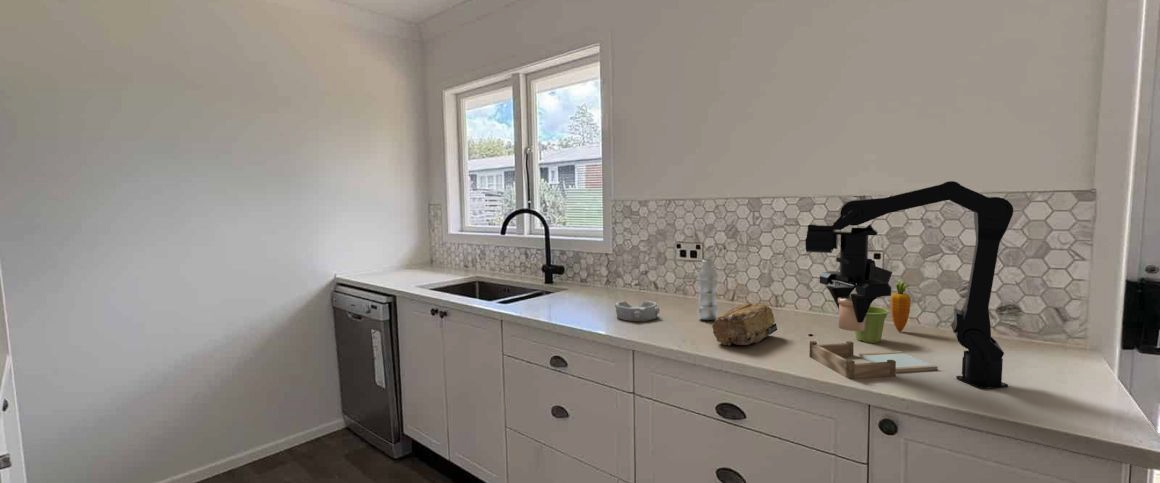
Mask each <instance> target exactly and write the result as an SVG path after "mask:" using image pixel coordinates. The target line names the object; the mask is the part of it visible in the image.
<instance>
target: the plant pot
mask: <svg viewBox="0 0 1160 483" xmlns="http://www.w3.org/2000/svg"><path fill="white" fill-rule="evenodd" d="M889 312H890V311H889V310H888V309H886V308H884V307H879V306H873V305H872V306H871V305H870V307H869V309H868V311H867V314H866V322H865V330H863V331H854V335H855V339H856V340H857V341H863V342H864V343H871V344H875V343H876V344H877V343H879V342H881V341H882V336H883V332H884V331H883V330H884V326H885V320H886V318H887V316H888V314H889Z"/></svg>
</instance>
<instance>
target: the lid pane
mask: <svg viewBox="0 0 1160 483" xmlns="http://www.w3.org/2000/svg"><path fill="white" fill-rule="evenodd" d="M858 356H859V358H861V359H864V360H865V361H867V362H869V363H875V362H887V360H894V361H896V373H908V372H923V371H925V372H926V371H938V369H939V368H938V366H937V365H935V364H930V363H928V362H926V361H923V360H921V359H919V358H916V357H914V356H911V355H909V354H906V353H904V351H900V350H896V351H895V350H894V351H881V352H880V351H879V352H859V354H858Z"/></svg>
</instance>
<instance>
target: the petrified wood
mask: <svg viewBox="0 0 1160 483" xmlns="http://www.w3.org/2000/svg"><path fill="white" fill-rule="evenodd" d="M711 328H712V330H713V331H712V332H713V334H714V335H713V336H714V337H715V338H716V342H718V343H720V344H721V345H723V346H731V345H733V344H735V346H737V345H738V346H748V345H751V344H758V343H759V342H761V341H762V340H763V339H765V338H766V337H768V336H769V335H771V334H773V333H774V332H776V331H778V326H777V323H775V316H774V313H773V309H772V308H771V307H769V306H768V305H767V304H766V303H765V304H764V303H762V302H761V303H755V304H753V303H750V302H747V303H743V304H739V305H738V306H736V307H733V308H732V309H730V310H727V311H726V312H725V313H722V314H720V315H719V316H717V317H716V319H714V321H713V323H712V326H711Z"/></svg>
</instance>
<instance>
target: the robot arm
mask: <svg viewBox="0 0 1160 483" xmlns="http://www.w3.org/2000/svg"><path fill="white" fill-rule="evenodd" d="M945 201H950V202H953V203H955V204H956V205H958V206H961V207H962V208H964V209H967V210H969V211H971V212H973V221H974V222H973V223H974V231H975V233H974V234H975V244H974V249H973V250H974V251H973V256H972V262H971V270H970V274H969V280H968V281H969V282H968V287H967V292H966V299H965V302H964V305H963V307H962V308H961V310H960V309H958V308H953V322H951V324H950V326H951V330H952V332H953V333H954V334H955V337H956V339H957V341H958V343H959V344H960V345H961V346H962V347H963V348H965V349H967V350H964V351H963V356H962V361H961V363H962V365H961V375H956V376H955V379H956V380H959V381H961V382H964V383H966V384H969V385H971V386H974V387H976V388H979V389H996V388H1008V387H1009V384H1008V383H1006V382H1003V381H1002V380H1003V361H1004V360H1003V359H1004V358H1003V357H1004V355H1005V352H1004V351H1003V349H1002V347H1001V346H1000V345H999V343H998V342H997V341H996V340H995V339H994V338H993V337H992V332H991V329H992V328H991V327H992V326H991V318H990V311H989V310H990V309H989V307H990V301H991V296H992V289H993V283H994V279H995V278H994V277H995V271H996V265H997V260H998V254H999V249H1000V244H1001V241H1002V239H1003V236H1004V235H1005V234H1006V231H1007V230H1008V228H1009V225H1010V223H1011V220H1012V218H1013V215H1014V207H1013V205H1012V203H1011V202H1010V201H1009V200H1008V199H1005V198H1004V197H998V196H985V195H984V194H981V193H980V192H977V191H975V190H973V189H970V188H968V187H965V186H963V185H961V183H959V182H957V181H952V180H949V181H945V182H942V183H941V184H936V185H933V186H929V187H924V188H921V189H915V190H912V191H908V192H904V193H903V192H902V193H899V194H895V195H890V196H886V197H878V198H866V199H865V198H864V199H863V198H862V199H855V200H850V201H848V202H846V203H844V204H843V205H842V207H841V209H840V211H839V212H840V216H839V217H838V219H836V221H833V225H831V224H830V225H829V224H828V225H825V224H819V225H818V224H813V223H812V224H811V223H810V224H808V225H807V232H806V238H805V252H806V253H818V254H820V253H821V254H822V253H823V254H833V251H834V250H838V246H839V236H840V250H839V251H840V252H839V257H835V262H837V263H839V271H823V272H822V273H821V274H820V275H819V284H822V285H824V286H826V285H827V286H826V289H827V290H828V291H829V293H830V295H831V297H832V299H833V301H834V302H835V304H836V307H837V309H838V310H839V303H838V297H843V296H851V299H852V303H853V307H854V311H855V315H856V319H857V322H859V323H862V322H863V321H864V318H865V316H866V314H867V311H868V309H869V307H870V306H871V304H872V303H873V302H874V301H875V300H876V299H878V298H882V297H891V295H892V290H893V289H892V288H893V287H892V286H891V285H890V284H889V282H890V280H891V277H892V275H893V272H892V271H891V270H888V269H884V268H881V267H879V266H876V264H875V263H874V261H873V259H872V258H869V256H868V255H869V236H877V235H878V233H879V231H877V230H876V229H874V227H873V225H872V224H868V225H867V226H866V227H854V226H860V225H862V224H864V223H868V222H869V221H873V220H875V219H878V218H880V217H883V216H884V215H887V214H891V213H894V212H895V213H896V212H901V211H905V210H909V209H913V208H917V207H924V206H926V205H932V204H935V203H941V202H945ZM848 226H853V227H851V230H850V231H841V230H843V229H845V228H847V227H848ZM854 290H855V292H856V293H852V292H853V291H854Z"/></svg>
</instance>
